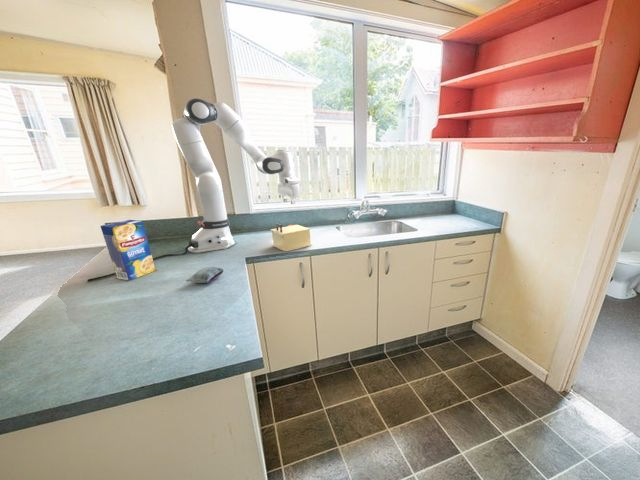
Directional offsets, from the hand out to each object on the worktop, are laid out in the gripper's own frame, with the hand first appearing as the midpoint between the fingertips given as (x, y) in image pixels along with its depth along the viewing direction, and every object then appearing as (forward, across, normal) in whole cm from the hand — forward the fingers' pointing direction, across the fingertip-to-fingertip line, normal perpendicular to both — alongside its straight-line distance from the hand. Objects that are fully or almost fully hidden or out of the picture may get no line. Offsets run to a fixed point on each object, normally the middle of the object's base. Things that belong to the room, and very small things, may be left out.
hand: (289, 202), depth 179 cm
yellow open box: (+20, +21, -12) cm, 31 cm away
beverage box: (+19, +13, -79) cm, 82 cm away
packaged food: (+19, +39, -60) cm, 74 cm away
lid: (+11, +21, -12) cm, 27 cm away
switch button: (+16, -1, 0) cm, 16 cm away
